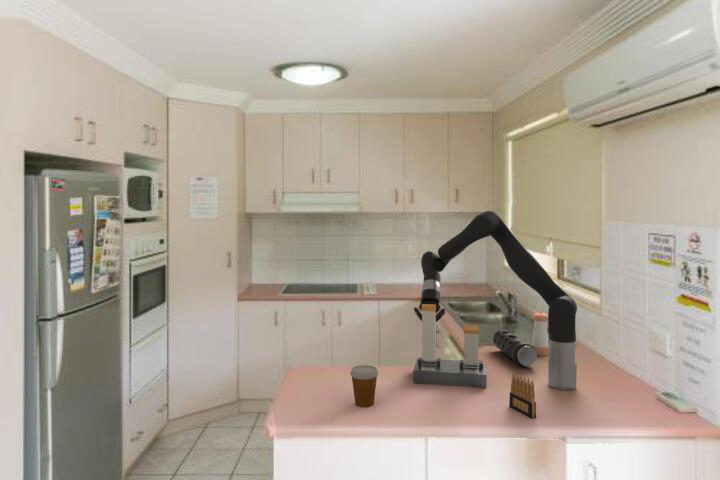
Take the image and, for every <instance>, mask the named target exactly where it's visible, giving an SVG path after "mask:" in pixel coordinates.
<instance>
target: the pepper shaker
mask: <svg viewBox="0 0 720 480" xmlns="http://www.w3.org/2000/svg"><path fill="white" fill-rule="evenodd" d="M532 320H533V333H532V344H531V345H532V346H533V347H534V348H535V350H536V354H537V356H549V334H548V313H545V312H543V311H541V310H540V311H539V312H535V313H533V314H532Z"/></svg>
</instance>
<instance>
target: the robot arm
mask: <svg viewBox="0 0 720 480" xmlns="http://www.w3.org/2000/svg"><path fill="white" fill-rule="evenodd" d="M488 237H492V239H493V240H494V241H495V242H496V243H497V244H498V245H499V247H500V248H501V250H502V253H503V256H504V259H505V261H506V263H507V265H508V267H509V269H511V271H513V272H514V274H515V275H516V276H517V277H518V278H519V279H520V280H521V281H522V282H523V283H524V284H526V285H527V286H528V287H530V288H531V289H533V291H535V292H536V293H538V295H540V297H541V298H542V299H543V301H544V302H545V303H546V304H547V306H548V310H547V311H548V313H547V315H548V321H547V333H548V346H549V354H548V372H547V374H548V377H547V378H548V381H547V383H548V386H550V387H551V388H553V389H558V390H561V391H567V390H577V373H578V372H577V371H578V370H577V369H578V367H577V366H578V364H577V362H576V356H577V355H576V353H577V352H576V346H577V342H576V341H577V333H576V318H577V317H576V316H577V315H576V314H577V312H578V305H577V303H576V301H575V300H574V299H573V297H571V296H570V295H569V294H568V293H567V292H566V291H565V290H563V289H562V288H561V287H560V286H559V285H558V284H557V283H556V282H555V281H554V280H553V278H552V277H551V276H550V274H548V272H547V271H546V270H545V268H544V267H543V266H542V265H541V263H540V262H539V261H538V260H537V259H536V258H535V257H534V255H532V254H531V253H530V251H529V250H528V249H527V248H526V247H525V246H524V245H523V244H522V243H521V242H520V241H519V240H518V238H517V237H516V236H515V235H514V234H513V233H512V231H511V230H510V228H509V227H508V226H507V225H506V223H505V222H504V220H503V219H502V218H501V216H499V214H498V213H496V212H495V211H492V210H486V211H483V212H482V213H480V214H477V215H476V216H475V217H474V218H473V219H472V220H471V222H469V224H468V225H466V226H465V227H464V228H463V230H461V232H459V233H458V234H456V235H455V236H453V237H452V238H451V239H448V241H446V242H445V243H444V244H442V245H441V246H439V248H438V249H437V254H436V253H435V252H433V251H430V250H428V251H426V252H424V253H423V254H422V256H421V261H420V263H421V269H422V275H423V283H422V287H421V296H420V297H421V298H420V299H421V300H420V303H419V305H418V306H417V307H414V308H413V313H414V314H415V316H416V317H418V319H419V320H420V321H421V322H422V304H431V305H436V323H437V322H439V320H440V319H441V318H442V317H444V315H446V309H445V308H442V307H441V304H440V303H441V302H440V301H441V278H442V277H441V273H440V272H442V271H444V269H445V268H446V267H447V266H448V264H449V263H450V261H452V260H453V259H454V258H456V257H457V256H459V255H460V254H461V253H462V252H464V251H465V250H466V248H468V247H469V246H470V245H472V244H473V243H475V242H477V241H480V240H482V239H484V238H488Z"/></svg>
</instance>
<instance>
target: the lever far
mask: <svg viewBox="0 0 720 480" xmlns="http://www.w3.org/2000/svg"><path fill="white" fill-rule="evenodd" d="M421 314H422V321H421V328H422V330H421V335H422V337H421V340H422V341H421V344H422V349H421V351H422V354H421V355H422V358H423V360H422V364H430V365H436V359H437V347H436V346H437V343H436V342H437V340H436V339H437V337H436V336H437V335H436V334H437V331H436V329H437V327H436V326H437V322H436V315H437V313H436V305H431V304H422V311H421Z"/></svg>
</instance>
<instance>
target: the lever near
mask: <svg viewBox="0 0 720 480" xmlns="http://www.w3.org/2000/svg"><path fill="white" fill-rule="evenodd" d="M479 327H480V326H479V325H466V324H465V325H463V339H464V340H463V344H464V348H463V350H464V351H463V352H464V354H463V355H464V356H463V357H464V359H463V360H464V367H478V362H479V333H480V329H479Z"/></svg>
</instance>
